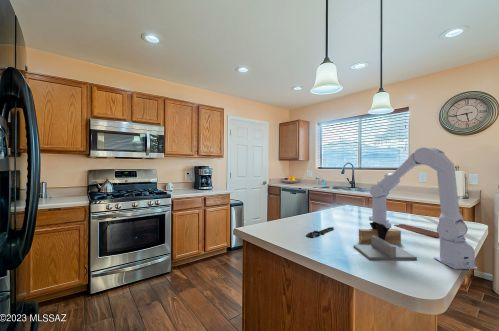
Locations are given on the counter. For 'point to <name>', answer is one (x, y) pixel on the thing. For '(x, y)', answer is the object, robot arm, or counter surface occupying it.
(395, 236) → the wooden block
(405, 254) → the stand
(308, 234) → the black spatula
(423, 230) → the wooden tablet
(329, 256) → the counter surface
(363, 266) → the counter surface
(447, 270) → the counter surface
